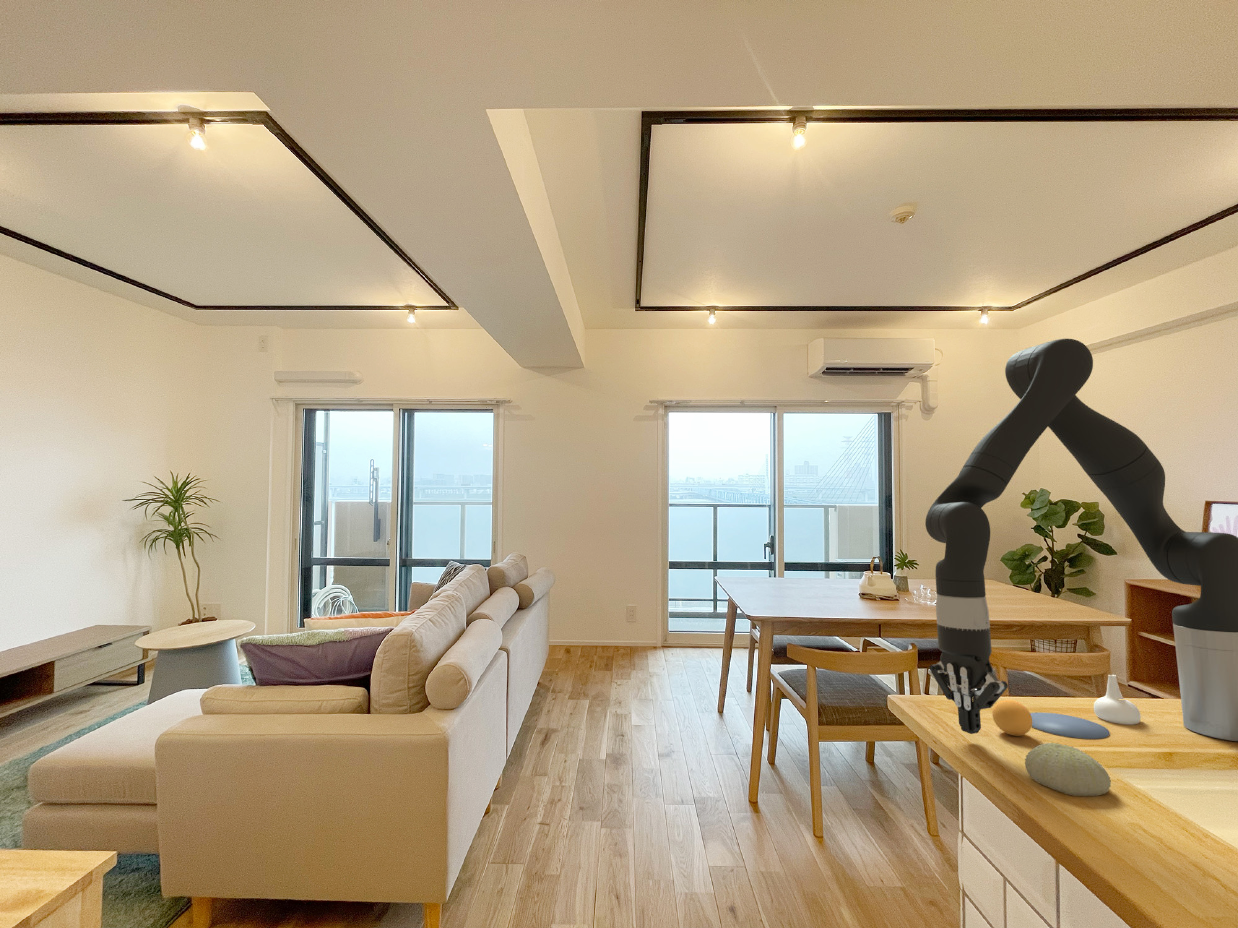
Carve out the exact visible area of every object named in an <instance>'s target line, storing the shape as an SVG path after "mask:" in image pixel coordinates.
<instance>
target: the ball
mask: <svg viewBox="0 0 1238 928" xmlns="http://www.w3.org/2000/svg"><path fill="white" fill-rule="evenodd" d="M1030 713H1031V712H1030V710H1028V709H1027V707H1026V706H1024V705H1023V704H1022V703H1020V702H1018V701H1016V700H1013V699H1003V700H1000V701H998V702H996V703H995V704H994V705H993V709H992V713H991V714H992V719H993V721H994V723H995V725H996V726H997V727H998V728H999V730H1000V731H1002V732H1004V733H1006V734H1007V735H1010V736H1016V737H1017V736H1018V737H1020V736H1023V735H1026V734H1027V733H1029V732H1030V730H1031V729H1032V728H1033V727H1032V717H1031V714H1030Z"/></svg>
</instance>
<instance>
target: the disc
mask: <svg viewBox="0 0 1238 928" xmlns="http://www.w3.org/2000/svg"><path fill="white" fill-rule="evenodd" d="M1030 714H1031V717H1032V727H1031V728H1033V729H1035V728H1036V729H1035V730H1038V731H1042V732H1043V733H1044V732H1045V733H1048V734H1052V735H1056V736H1060V737H1067V738H1072V739H1073V738H1074V739H1080V738H1082V739H1083V740H1100V739H1105V738H1107V737H1109V736H1110V734H1111V733H1110V731H1109V729H1108V728H1107V727H1105V725H1104V726H1103V725H1101V724H1099V723H1097V722H1095V721H1091V720H1088V719H1085V718H1082V717H1078V716H1074V715H1073V716H1072V715H1067V714H1062V713H1061V714H1060V713H1055V712H1054V713H1053V712H1030ZM1082 739H1081V740H1082Z"/></svg>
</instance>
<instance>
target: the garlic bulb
mask: <svg viewBox="0 0 1238 928" xmlns="http://www.w3.org/2000/svg"><path fill="white" fill-rule="evenodd" d="M1119 699H1125V698H1124V697H1123V695H1122V693H1121V690H1120V686H1119V683H1118V679H1117V675H1116V674H1108V675H1107V685H1106V692H1105V695H1104V696H1102V697H1099V698H1097V699H1096V700H1095V701H1094V703H1093V712H1094V714H1095V715H1096V716H1097V717H1098V718H1099V719H1101V720H1103V721H1106V722H1109V723H1112V724H1113V723H1114V724H1119V725H1126V726H1127V725H1129V726H1131V725H1133V726H1134V725H1137V724H1139V723H1140V722H1141V719H1142V718H1141V717H1142V716H1141V713H1140V710H1139V708H1138V707H1137V706H1136V704H1134V703H1133V702H1131V701H1130V700H1128V699H1126V700H1119Z"/></svg>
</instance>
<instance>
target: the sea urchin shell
mask: <svg viewBox="0 0 1238 928" xmlns="http://www.w3.org/2000/svg"><path fill="white" fill-rule="evenodd" d="M1024 760H1025V762H1024V765H1025V771H1026V772H1027V774H1028V775H1029V777H1030V778H1031V779H1032V780H1033V781H1035V782H1037V783H1038V784H1041V785H1043V786H1044V787H1047V788H1051V789H1053V790H1054V791H1057V792H1060V793H1063V794H1065V795H1069V796H1073V797H1077V796H1078V797H1079V796H1080V797H1089V796H1091V797H1093V796H1094V797H1097V796H1098V797H1099V796H1100V795H1104V794H1107V793H1108V792H1109V791H1110V788H1111V782H1112V780H1111V777H1110V775H1109V773H1108V772H1107V770H1106V769H1105V767H1104V766H1103V765H1102V764H1101V763H1099V761H1097V760H1096V759H1094V758H1093V757H1092V756H1091V755H1089V754H1087V753H1086V752H1084V751H1083V750H1080V749H1079V748H1076V747H1074V746H1070V745H1068V744H1061V743H1057V742H1047V743H1041V744H1038V745H1037V746H1034V748H1032V749H1031V750H1030V751H1029V752H1027V754H1026V755H1025V758H1024Z"/></svg>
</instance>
